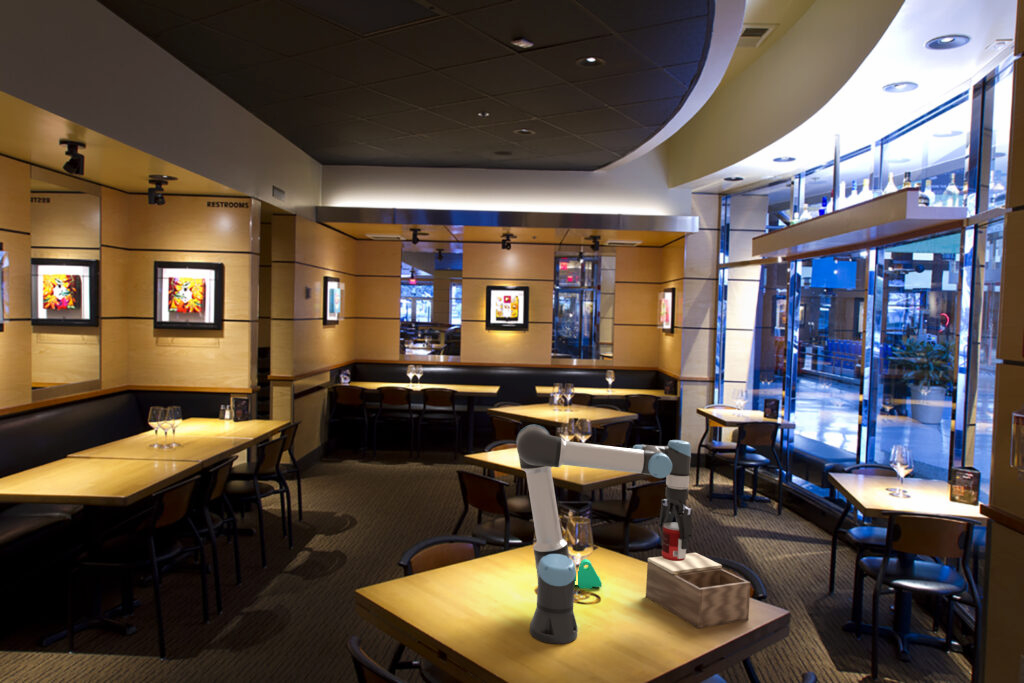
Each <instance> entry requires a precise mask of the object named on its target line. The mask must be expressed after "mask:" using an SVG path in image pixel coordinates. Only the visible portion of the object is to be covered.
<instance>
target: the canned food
mask: <svg viewBox="0 0 1024 683" xmlns="http://www.w3.org/2000/svg"><path fill="white" fill-rule="evenodd" d="M679 538H680V532H679V527H678V522H675V521H674V522H673V521H672V522H670V523H664V525H663V540H662V542H661V543H662V544H661V545H662V546H661V555H662V557H663V558H665V559H667V560H671V561H682V560H684V559H685V558H682V559H678V541H679Z"/></svg>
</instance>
